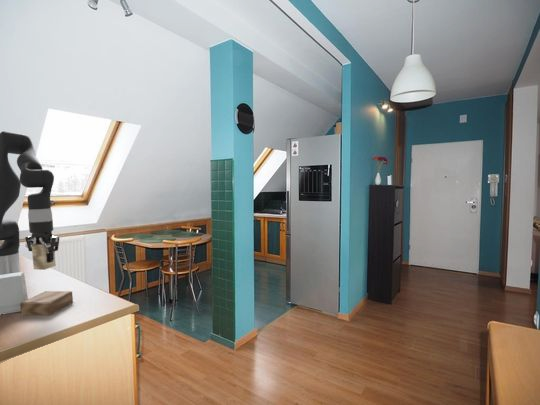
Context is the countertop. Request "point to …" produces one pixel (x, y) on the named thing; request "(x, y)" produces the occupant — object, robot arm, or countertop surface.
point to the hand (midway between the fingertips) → (44, 261)
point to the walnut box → (46, 303)
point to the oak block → (41, 257)
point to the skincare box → (12, 292)
